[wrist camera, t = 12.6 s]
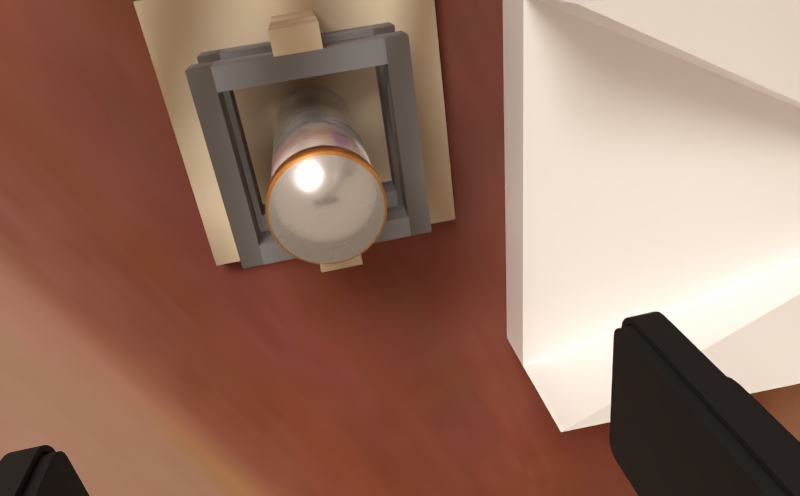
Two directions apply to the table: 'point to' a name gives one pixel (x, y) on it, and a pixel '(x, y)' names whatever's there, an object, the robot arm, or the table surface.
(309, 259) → the steel tube
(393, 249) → the table surface
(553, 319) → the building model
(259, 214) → the collar stand
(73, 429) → the table surface
